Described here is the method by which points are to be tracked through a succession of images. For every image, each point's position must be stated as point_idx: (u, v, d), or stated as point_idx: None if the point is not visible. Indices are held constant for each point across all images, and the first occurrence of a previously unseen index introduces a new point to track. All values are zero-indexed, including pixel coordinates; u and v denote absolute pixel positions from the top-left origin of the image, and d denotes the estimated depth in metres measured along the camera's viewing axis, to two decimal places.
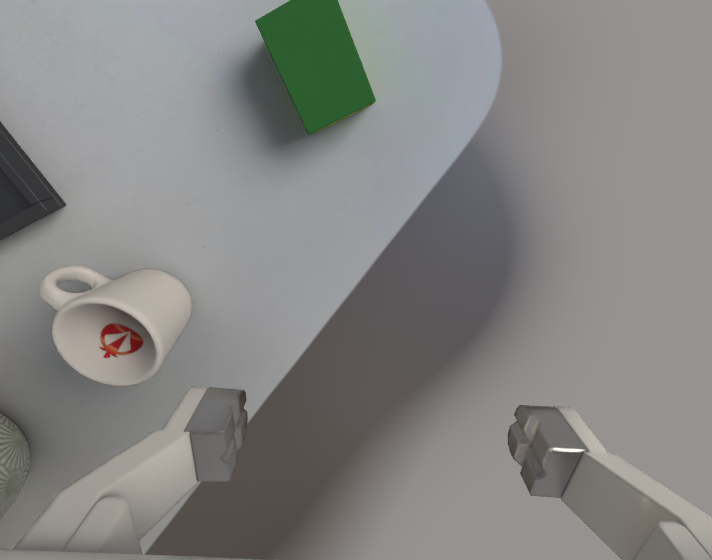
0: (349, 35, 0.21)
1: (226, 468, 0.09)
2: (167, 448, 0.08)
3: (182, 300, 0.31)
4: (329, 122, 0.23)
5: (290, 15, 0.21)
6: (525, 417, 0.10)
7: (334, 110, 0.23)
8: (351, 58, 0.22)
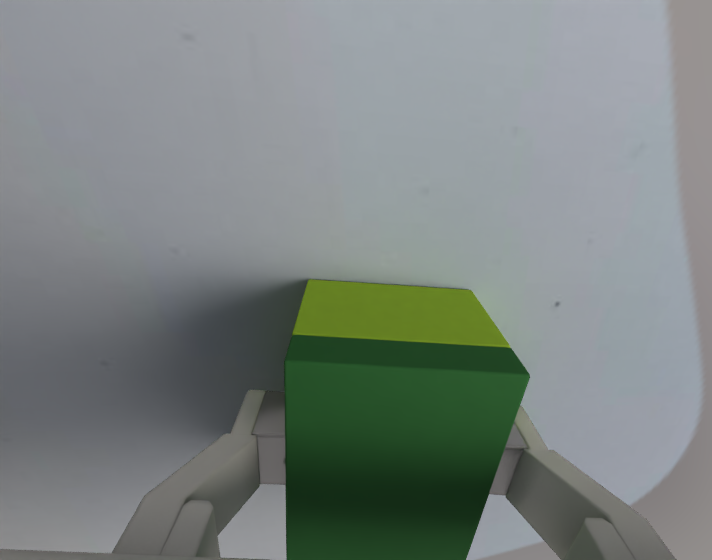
0: (492, 476, 0.08)
1: None
2: (239, 452, 0.08)
3: None
4: None
5: (385, 393, 0.07)
6: None
7: (368, 555, 0.10)
8: (466, 506, 0.09)
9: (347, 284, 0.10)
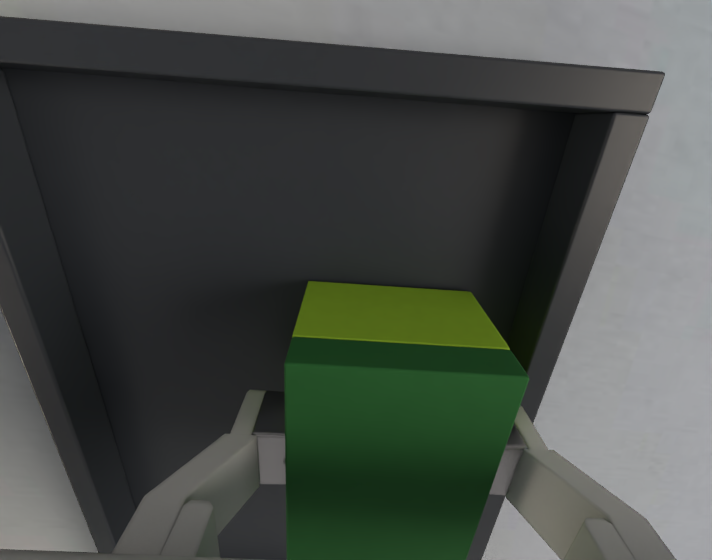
0: (491, 478, 0.08)
1: None
2: (238, 452, 0.08)
3: None
4: None
5: (385, 395, 0.07)
6: None
7: (368, 557, 0.10)
8: (465, 508, 0.09)
9: (347, 286, 0.10)
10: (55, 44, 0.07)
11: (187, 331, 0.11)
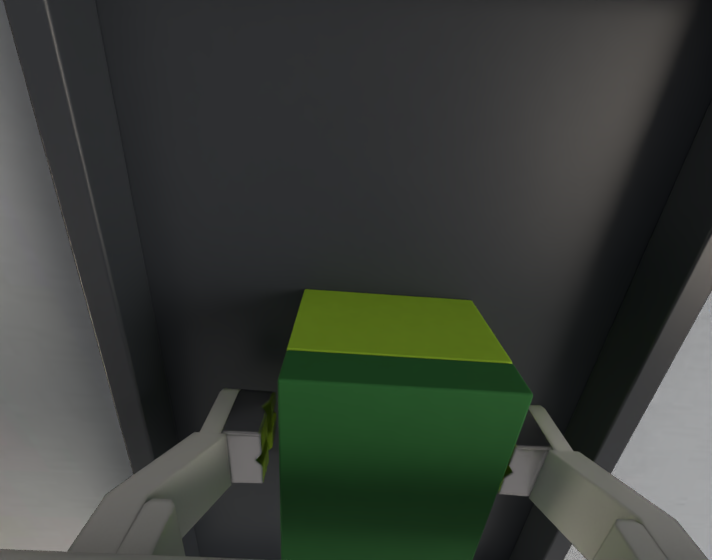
0: (493, 496, 0.08)
1: (261, 470, 0.09)
2: (207, 450, 0.08)
3: None
4: None
5: (383, 412, 0.07)
6: None
7: None
8: (466, 526, 0.08)
9: (344, 294, 0.10)
10: None
11: (266, 271, 0.10)
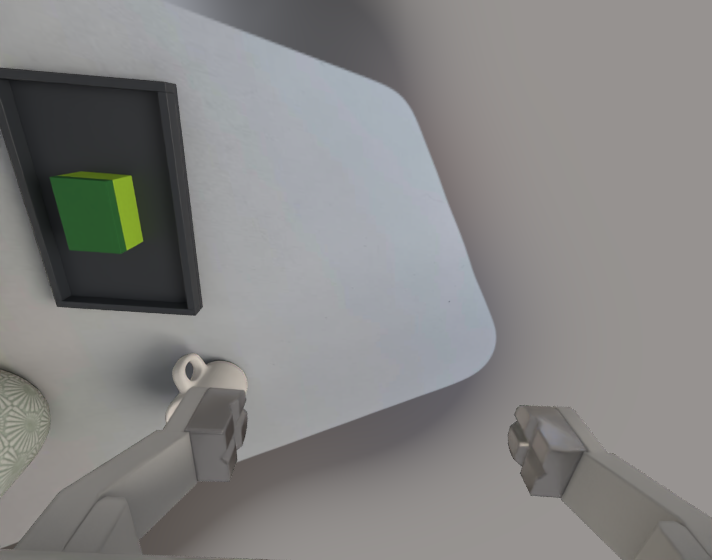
0: (111, 214, 0.33)
1: (226, 468, 0.09)
2: (167, 448, 0.08)
3: None
4: (86, 250, 0.34)
5: (74, 186, 0.32)
6: (525, 416, 0.10)
7: (91, 246, 0.34)
8: (110, 225, 0.33)
9: (91, 172, 0.35)
10: (20, 74, 0.30)
11: (68, 165, 0.35)
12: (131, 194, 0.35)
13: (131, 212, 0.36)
